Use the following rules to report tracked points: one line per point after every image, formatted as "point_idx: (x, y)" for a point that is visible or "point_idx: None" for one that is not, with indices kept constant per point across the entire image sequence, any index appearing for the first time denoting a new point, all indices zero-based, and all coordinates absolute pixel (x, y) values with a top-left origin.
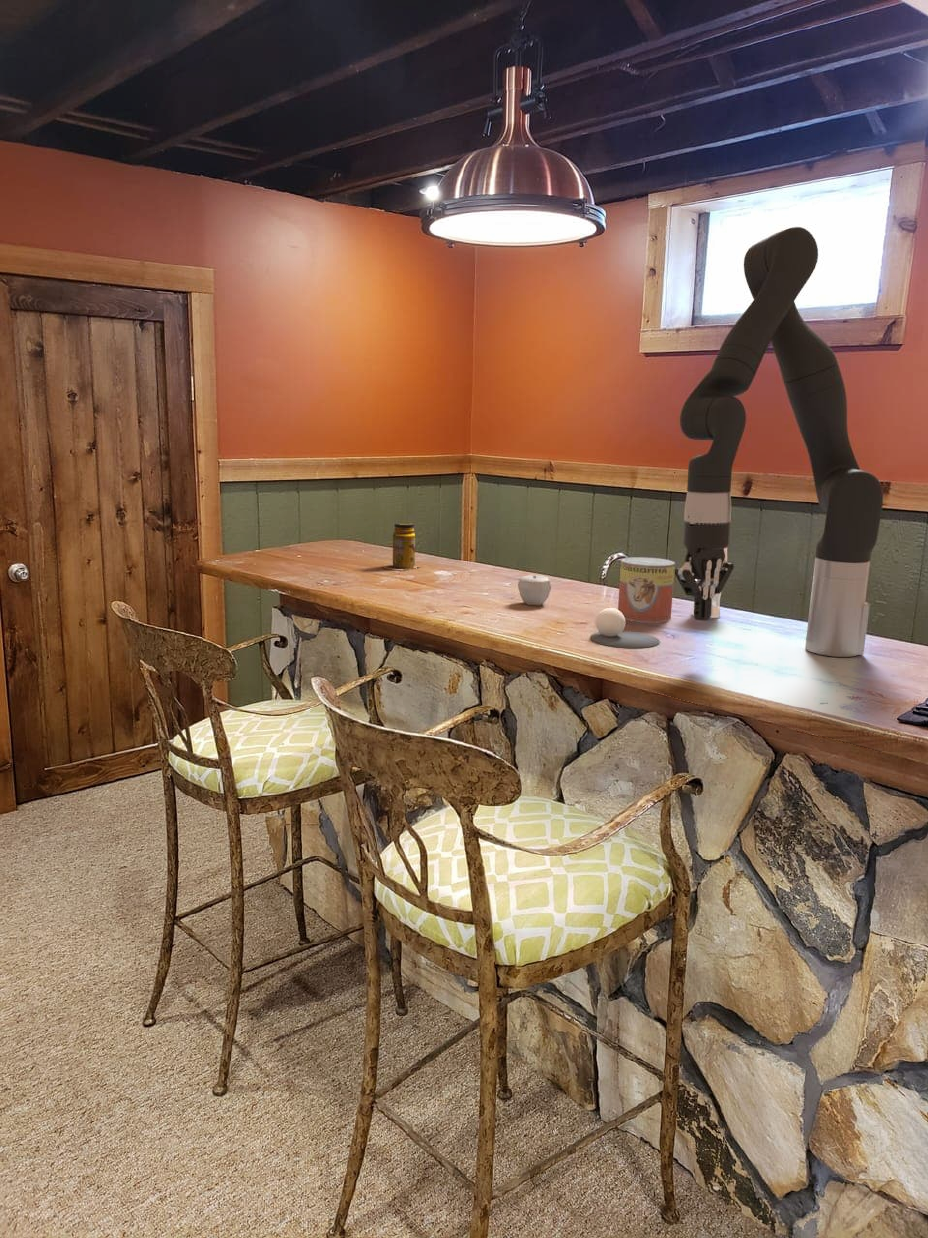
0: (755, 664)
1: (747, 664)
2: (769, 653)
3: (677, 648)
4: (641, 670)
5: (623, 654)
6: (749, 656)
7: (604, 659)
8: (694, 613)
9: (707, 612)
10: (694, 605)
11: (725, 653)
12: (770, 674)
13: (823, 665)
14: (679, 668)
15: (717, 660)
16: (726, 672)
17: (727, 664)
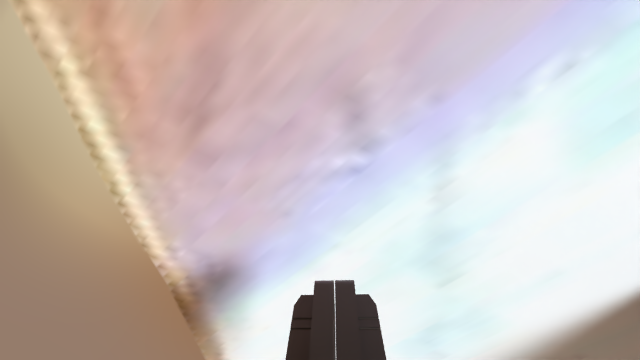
0: (447, 279)
1: (430, 271)
2: (593, 231)
3: (415, 50)
4: (129, 190)
5: (174, 19)
6: (513, 227)
7: (74, 42)
8: (294, 311)
9: (335, 353)
10: (289, 343)
11: (489, 175)
12: (397, 337)
13: (570, 345)
14: (240, 221)
15: (397, 215)
16: None
17: (386, 250)
